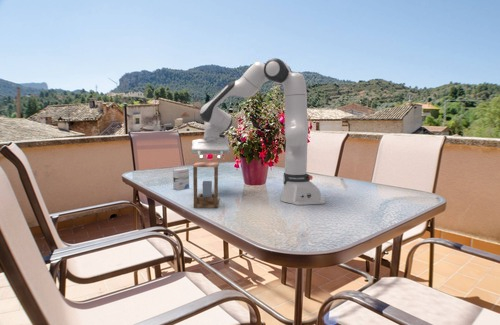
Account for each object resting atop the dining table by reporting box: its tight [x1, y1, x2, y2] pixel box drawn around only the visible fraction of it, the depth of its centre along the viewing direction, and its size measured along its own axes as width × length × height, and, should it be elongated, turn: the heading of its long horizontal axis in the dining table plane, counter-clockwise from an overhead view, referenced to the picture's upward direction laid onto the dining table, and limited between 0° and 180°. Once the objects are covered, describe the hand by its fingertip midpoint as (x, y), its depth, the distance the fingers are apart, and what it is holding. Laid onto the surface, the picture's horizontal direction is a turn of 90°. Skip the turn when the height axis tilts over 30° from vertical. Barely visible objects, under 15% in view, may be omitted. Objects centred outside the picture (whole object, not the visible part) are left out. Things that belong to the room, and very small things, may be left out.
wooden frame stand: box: [192, 161, 221, 209], centre depth 143 cm, size 11×14×20 cm
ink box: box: [172, 167, 190, 191], centre depth 177 cm, size 8×5×12 cm, turn 144°
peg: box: [202, 180, 213, 197], centre depth 144 cm, size 4×4×10 cm
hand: (210, 159), depth 155 cm, fingers open, 8 cm apart
